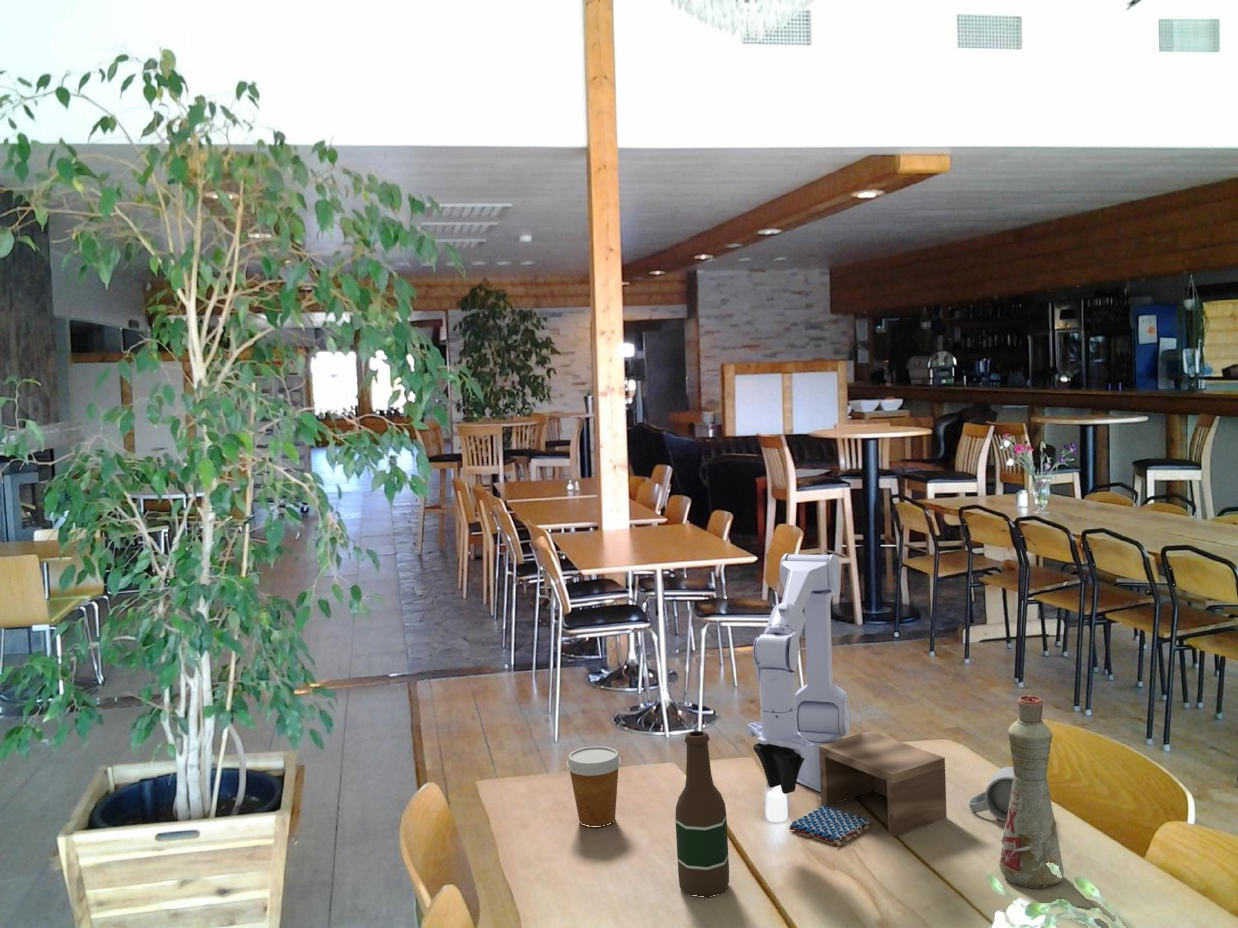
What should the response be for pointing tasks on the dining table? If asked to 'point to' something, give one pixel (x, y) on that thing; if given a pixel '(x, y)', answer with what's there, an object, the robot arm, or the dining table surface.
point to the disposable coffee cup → (595, 783)
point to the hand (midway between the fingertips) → (781, 788)
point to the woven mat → (830, 825)
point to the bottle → (1030, 803)
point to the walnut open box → (885, 778)
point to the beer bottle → (701, 825)
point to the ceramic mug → (995, 795)
